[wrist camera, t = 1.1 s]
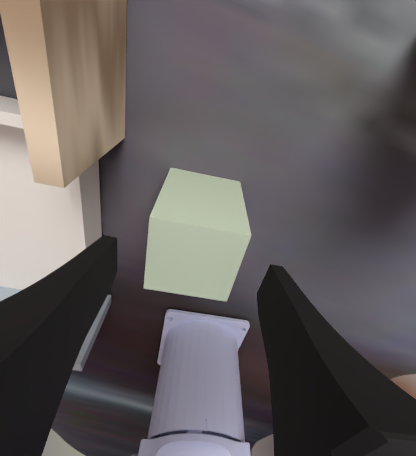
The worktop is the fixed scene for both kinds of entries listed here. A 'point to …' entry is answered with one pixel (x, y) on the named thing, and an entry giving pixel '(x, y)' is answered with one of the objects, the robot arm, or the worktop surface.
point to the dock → (67, 81)
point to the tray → (42, 218)
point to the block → (196, 236)
